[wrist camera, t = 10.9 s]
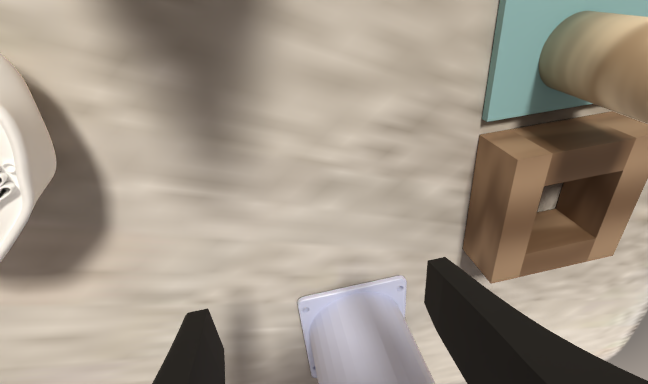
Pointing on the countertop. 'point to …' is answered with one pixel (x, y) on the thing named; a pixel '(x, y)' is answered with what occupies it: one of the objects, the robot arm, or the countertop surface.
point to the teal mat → (534, 53)
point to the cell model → (20, 155)
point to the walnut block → (574, 201)
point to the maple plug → (600, 61)
